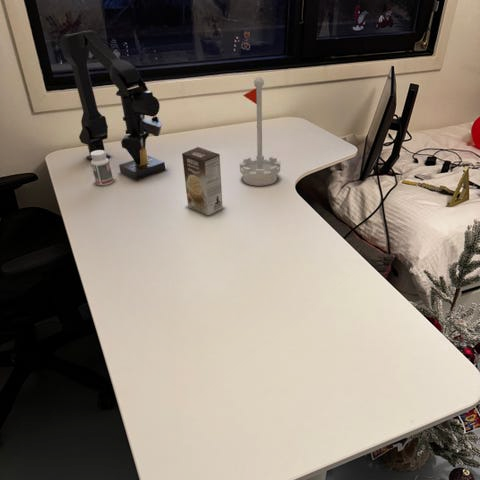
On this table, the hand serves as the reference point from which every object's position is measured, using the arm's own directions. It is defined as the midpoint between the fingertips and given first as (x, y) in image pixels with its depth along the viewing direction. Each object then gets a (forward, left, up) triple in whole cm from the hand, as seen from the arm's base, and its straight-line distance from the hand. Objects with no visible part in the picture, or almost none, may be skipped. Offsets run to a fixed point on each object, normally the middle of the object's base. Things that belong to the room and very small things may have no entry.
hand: (141, 160), depth 157 cm
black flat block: (0, 0, -4) cm, 4 cm away
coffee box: (+38, -4, -4) cm, 38 cm away
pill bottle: (-2, -14, -4) cm, 15 cm away
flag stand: (+35, +22, -4) cm, 42 cm away
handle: (0, 0, -1) cm, 1 cm away
